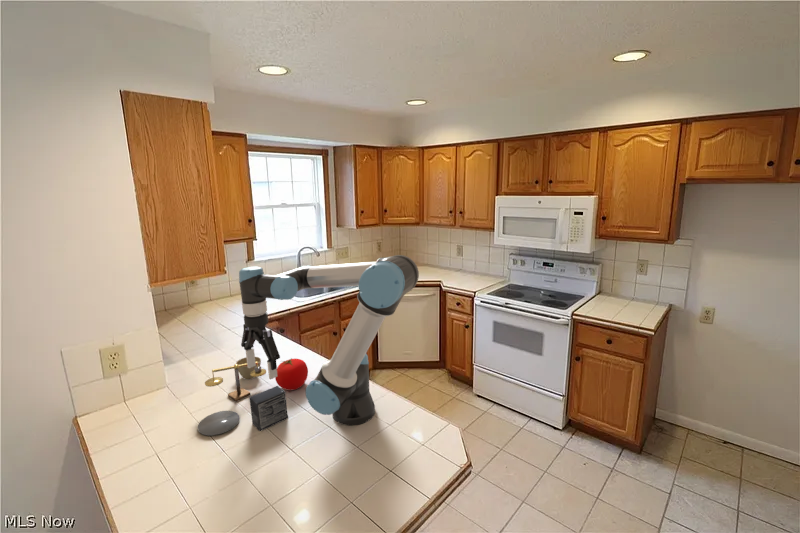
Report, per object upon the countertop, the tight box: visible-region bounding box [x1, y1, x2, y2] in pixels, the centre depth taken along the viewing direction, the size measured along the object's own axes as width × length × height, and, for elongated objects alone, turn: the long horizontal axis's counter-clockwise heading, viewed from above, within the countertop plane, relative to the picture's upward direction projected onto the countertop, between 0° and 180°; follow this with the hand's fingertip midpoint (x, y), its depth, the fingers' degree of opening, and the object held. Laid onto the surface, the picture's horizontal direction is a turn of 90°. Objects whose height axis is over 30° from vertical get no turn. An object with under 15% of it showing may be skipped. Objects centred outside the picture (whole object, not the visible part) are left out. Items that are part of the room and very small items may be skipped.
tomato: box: [274, 357, 309, 391], centre depth 154 cm, size 12×14×11 cm
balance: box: [204, 362, 267, 403], centre depth 147 cm, size 6×24×15 cm, turn 142°
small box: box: [248, 385, 289, 432], centre depth 131 cm, size 11×6×10 cm, turn 134°
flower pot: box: [235, 356, 262, 381], centre depth 163 cm, size 10×10×7 cm
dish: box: [197, 410, 241, 437], centre depth 130 cm, size 13×13×1 cm
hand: (262, 372), depth 131 cm, fingers open, 13 cm apart
